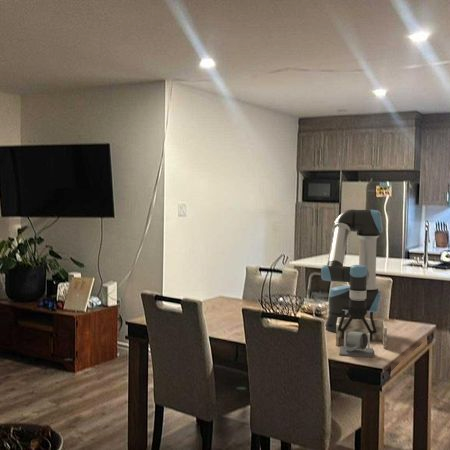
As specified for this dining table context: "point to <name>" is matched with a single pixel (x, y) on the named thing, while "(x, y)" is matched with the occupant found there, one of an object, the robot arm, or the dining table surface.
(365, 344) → the ceramic mug
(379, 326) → the open box
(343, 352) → the rubber mat
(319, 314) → the dining table surface
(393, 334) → the dining table surface
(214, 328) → the dining table surface
